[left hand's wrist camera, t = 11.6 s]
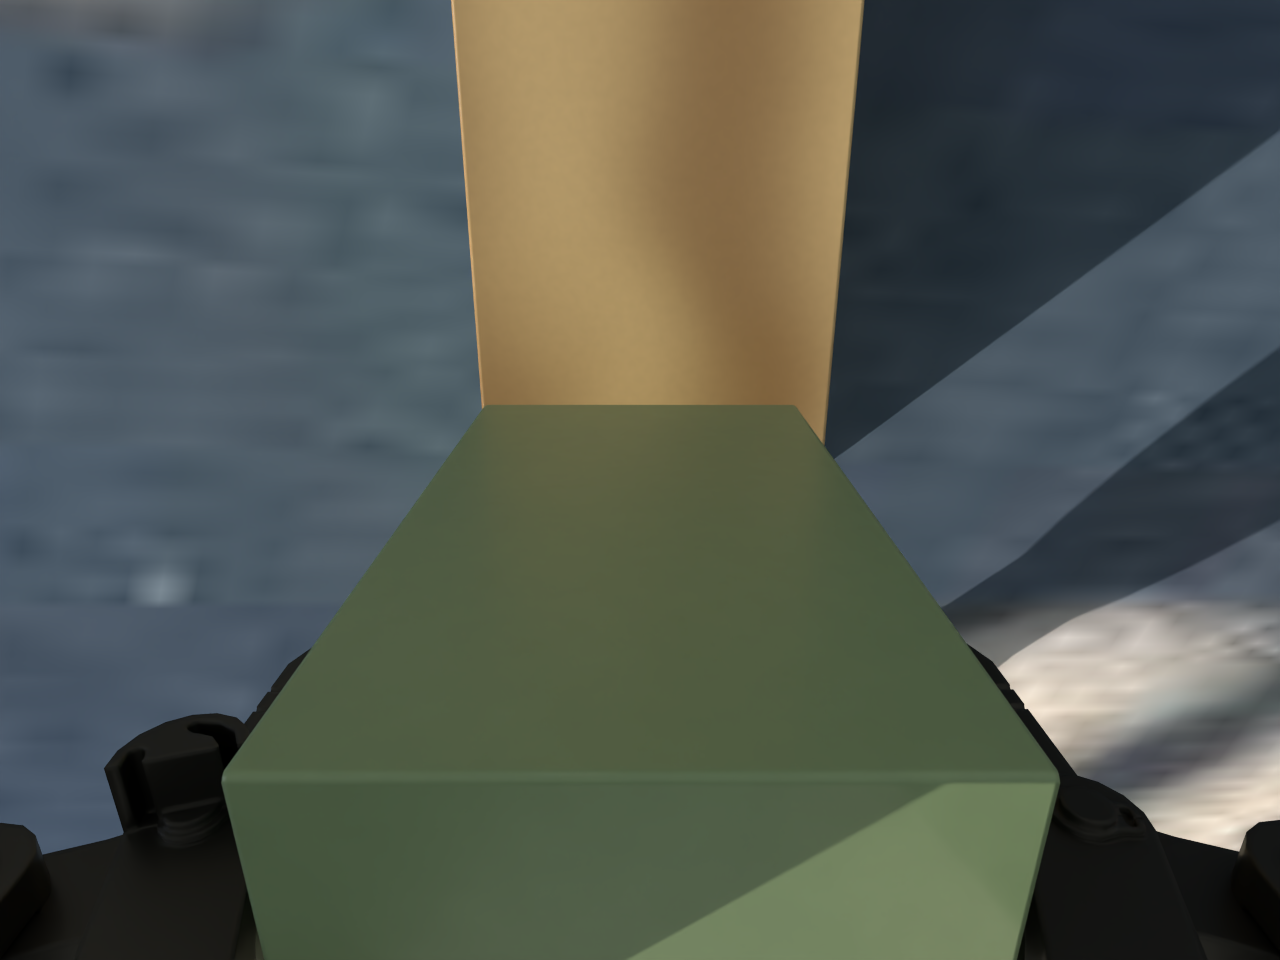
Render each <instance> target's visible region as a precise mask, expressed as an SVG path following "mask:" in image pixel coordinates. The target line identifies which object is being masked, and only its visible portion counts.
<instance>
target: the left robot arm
mask: <svg viewBox="0 0 1280 960" xmlns="http://www.w3.org/2000/svg"><path fill="white" fill-rule="evenodd" d="M967 645H968V644H967ZM968 647H969V648H970V649H971V651H972V652H973V654H974V655H975V656H976V658H977V659H978V661H979V662H980V663H981V665H982V666H983V668H984V669H985V670H986V672H987V673H988V675H989V676H990V677H991V679H992V680H993V681H994V683H995V684H996V686H997V687H998V688H999V690H1000V691H1001V693H1002V694H1003V695H1004V697H1005V698H1006V700H1007V701H1008V702H1009V704H1010V705H1011V707H1012V708H1013V709H1014V711H1015V712H1016V713H1017V715H1018V716H1019V718H1020V719H1021V720H1022V722H1023V723H1024V725H1025V726H1026V727H1027V729H1028V730H1029V732H1030V733H1031V734H1032V736H1033V737H1034V739H1035V740H1036V741H1037V743H1038V744H1039V746H1040V747H1041V748H1042V750H1043V751H1044V752H1045V754H1046V755H1047V757H1048V758H1049V759H1050V761H1051V762H1052V764H1053V765H1054V766H1055V768H1056V769H1057V771H1058V774H1059V778H1060V786H1059V790H1058V794H1057V798H1056V802H1055V806H1054V810H1053V814H1052V818H1051V823H1050V827H1049V831H1048V835H1047V839H1046V843H1045V847H1044V851H1043V855H1042V859H1041V863H1040V867H1039V871H1038V876H1037V880H1036V884H1035V888H1034V892H1033V896H1032V900H1031V904H1030V908H1029V912H1028V916H1027V920H1026V924H1025V929H1024V933H1023V937H1022V941H1021V945H1020V949H1019V953H1018V957H1017V960H1280V820H1275V821H1266V822H1259V823H1257V824H1256V825H1255V826H1254V827H1252V828H1251V829H1250V830H1248V831H1247V832H1246V835H1245V838H1244V841H1243V843H1242V846H1241V849H1240V851H1239V852H1238V851H1234V850H1229V849H1225V848H1221V847H1217V846H1212V845H1208V844H1204V843H1199V842H1195V841H1191V840H1186V839H1182V838H1178V837H1174V836H1171V835H1167V834H1164V833H1161V832H1157V831H1156V830H1155V829H1154V827H1153V826H1152V824H1151V822H1150V821H1149V819H1148V818H1147V816H1146V815H1145V813H1144V812H1143V811H1141V810H1140V809H1139V808H1138V807H1137V806H1135V805H1134V804H1133V803H1132V802H1131V801H1130V800H1128V799H1127V798H1126V797H1125V796H1124V795H1122V794H1120V793H1118V792H1116V791H1114V790H1112V789H1111V788H1109V787H1107V786H1105V785H1103V784H1101V783H1099V782H1096V781H1093V780H1090V779H1087V778H1083V777H1080V776H1077V774H1076V773H1075V772H1074V770H1073V769H1072V768H1071V766H1070V765H1069V764H1068V762H1067V761H1066V760H1065V758H1064V757H1063V756H1062V754H1061V753H1060V752H1059V750H1058V749H1057V748H1056V746H1055V745H1054V744H1053V742H1052V741H1051V740H1050V738H1049V737H1048V736H1047V734H1046V733H1045V731H1044V730H1043V729H1042V727H1041V726H1040V725H1039V723H1038V722H1037V721H1036V719H1035V718H1034V717H1033V715H1032V714H1031V713H1030V711H1029V710H1028V709H1025V708H1024V703H1023V702H1022V701H1021V699H1020V698H1019V697H1018V695H1017V694H1016V693H1015V691H1014V690H1010V684H1009V683H1008V682H1007V680H1006V679H1005V678H1004V676H1003V675H1002V674H1001V672H1000V671H999V670H998V668H997V667H996V666H995V664H994V663H993V662H992V661H991V660H989V659H988V658H987V657H985V656H984V655H982V654H981V653H979V652H978V651H977V650H975V649H974V648H972V647H971V646H969V645H968ZM310 650H311V649H309V650H308V651H306V652H305V653H304V654H302V655H301V656H299V657H298V658H296V659H295V660H294V661H292V662H291V663H289V664H288V665H287V667H286V668H285V669H284V671H283V672H282V673H281V675H280V676H279V678H278V679H277V680H276V682H275V683H274V684H273V686H272V687H271V692H267V694H266V695H265V696H264V698H263V699H262V701H261V702H260V703H259V705H258V706H257V711H256V712H253V713H252V714H251V715H250V717H249V718H248V719H247V721H246V722H245V724H244V723H242V722H241V721H240V720H239V719H238V718H236V717H232V716H227V715H223V714H218V713H214V714H199V715H191V716H187V717H183V718H180V719H176V720H172V721H168V722H165V723H163V724H161V725H159V726H157V727H154V728H152V729H150V730H148V731H146V732H144V733H142V734H140V735H138V736H137V737H135V738H134V739H133V740H131V741H130V742H129V743H127V744H126V745H125V746H123V747H122V748H121V749H119V750H118V751H117V752H116V753H115V755H114V756H113V757H112V759H111V760H110V761H109V762H108V764H107V765H106V766H105V768H104V770H105V773H106V776H107V780H108V783H109V786H110V789H111V792H112V796H113V799H114V802H115V805H116V809H117V812H118V815H119V818H120V821H121V825H122V828H123V831H124V833H123V835H121V836H117V837H114V838H111V839H107V840H103V841H99V842H95V843H91V844H86V845H82V846H78V847H73V848H69V849H65V850H61V851H56V852H52V853H48V854H44V855H42V852H41V850H40V847H39V844H38V841H37V839H36V836H35V835H34V834H33V833H32V832H31V831H29V830H28V829H27V828H26V827H24V826H23V825H15V824H6V823H0V960H264V956H263V952H262V948H261V944H260V939H259V935H258V931H257V927H256V923H255V919H254V915H253V911H252V907H251V902H250V898H249V894H248V890H247V886H246V882H245V878H244V874H243V870H242V866H241V861H240V857H239V853H238V849H237V845H236V841H235V837H234V833H233V829H232V825H231V820H230V816H229V812H228V808H227V804H226V800H225V796H224V792H223V788H222V783H221V782H222V776H223V772H224V770H225V769H226V767H227V766H228V764H229V763H230V762H231V760H232V759H233V757H234V756H235V755H236V753H237V752H238V750H239V749H240V748H241V746H242V745H243V743H244V742H245V741H246V739H247V738H248V736H249V735H250V734H251V732H252V731H253V729H254V728H255V727H256V725H257V724H258V722H259V721H260V720H261V718H262V717H263V715H264V714H265V713H266V711H267V710H268V708H269V707H270V706H271V704H272V703H273V701H274V700H275V699H276V697H277V696H278V694H279V693H280V692H281V690H282V689H283V687H284V686H285V685H286V683H287V682H288V680H289V679H290V678H291V676H292V675H293V673H294V672H295V671H296V669H297V668H298V666H299V665H300V664H301V662H302V661H303V659H304V658H305V657H306V655H307V654H308V652H309V651H310Z"/></svg>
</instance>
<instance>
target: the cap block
mask: <svg viewBox="0 0 1280 960" xmlns="http://www.w3.org/2000/svg"><path fill="white" fill-rule="evenodd" d="M221 783H222V788H223V792H224V796H225V800H226V804H227V808H228V812H229V816H230V820H231V825H232V829H233V833H234V837H235V841H236V845H237V849H238V853H239V857H240V861H241V866H242V870H243V874H244V878H245V882H246V886H247V890H248V894H249V898H250V902H251V907H252V911H253V915H254V919H255V923H256V927H257V931H258V935H259V939H260V944H261V948H262V952H263V956H264V960H1017V957H1018V953H1019V949H1020V945H1021V941H1022V937H1023V933H1024V929H1025V924H1026V920H1027V916H1028V912H1029V908H1030V904H1031V900H1032V896H1033V892H1034V888H1035V884H1036V880H1037V876H1038V871H1039V867H1040V863H1041V859H1042V855H1043V851H1044V847H1045V843H1046V839H1047V835H1048V831H1049V827H1050V823H1051V818H1052V814H1053V810H1054V806H1055V802H1056V798H1057V794H1058V790H1059V786H1060V778H1059V774H1058V771H1057V769H1056V768H1055V766H1054V765H1053V764H1052V762H1051V761H1050V759H1049V758H1048V757H1047V755H1046V754H1045V752H1044V751H1043V750H1042V748H1041V747H1040V746H1039V744H1038V743H1037V741H1036V740H1035V739H1034V737H1033V736H1032V734H1031V733H1030V732H1029V730H1028V729H1027V727H1026V726H1025V725H1024V723H1023V722H1022V720H1021V719H1020V718H1019V716H1018V715H1017V713H1016V712H1015V711H1014V709H1013V708H1012V707H1011V705H1010V704H1009V702H1008V701H1007V700H1006V698H1005V697H1004V695H1003V694H1002V693H1001V691H1000V690H999V688H998V687H997V686H996V684H995V683H994V681H993V680H992V679H991V677H990V676H989V675H988V673H987V672H986V670H985V669H984V668H983V666H982V665H981V663H980V662H979V661H978V659H977V658H976V656H975V655H974V654H973V652H972V651H971V649H970V648H969V647H968V645H967V644H966V642H965V641H964V640H963V638H962V637H961V636H960V634H959V633H958V631H957V630H956V629H955V627H954V626H953V624H952V623H951V622H950V620H949V619H948V617H947V616H946V615H945V613H944V612H943V610H942V609H941V608H940V606H939V605H938V604H937V602H936V601H935V599H934V598H933V597H932V595H931V594H930V592H929V591H928V590H927V588H926V587H925V585H924V584H923V583H922V581H921V580H920V578H919V577H918V576H917V574H916V573H915V571H914V570H913V569H912V567H911V566H910V565H909V563H908V562H907V560H906V559H905V558H904V556H903V555H902V553H901V552H900V551H899V549H898V548H897V546H896V545H895V544H894V542H893V541H892V539H891V538H890V537H889V535H888V534H887V532H886V531H885V530H884V528H883V527H882V526H881V524H880V523H879V521H878V520H877V519H876V517H875V516H874V514H873V513H872V512H871V510H870V509H869V507H868V506H867V505H866V503H865V502H864V500H863V499H862V498H861V496H860V495H859V494H858V492H857V491H856V489H855V488H854V487H853V485H852V484H851V482H850V481H849V480H848V478H847V477H846V475H845V474H844V473H843V471H842V470H841V468H840V467H839V466H838V464H837V463H836V461H835V460H834V459H833V457H832V456H831V455H830V453H829V452H828V450H827V449H826V448H825V446H824V445H823V443H822V442H821V441H820V439H819V438H818V436H817V435H816V434H815V432H814V431H813V429H812V428H811V427H810V425H809V424H808V423H807V421H806V420H805V418H804V417H803V416H802V414H801V413H800V411H799V410H798V409H797V407H796V406H794V405H486V406H484V408H483V409H482V410H481V412H480V413H479V415H478V416H477V417H476V419H475V420H474V422H473V423H472V424H471V426H470V427H469V429H468V430H467V431H466V433H465V434H464V436H463V437H462V438H461V440H460V441H459V443H458V444H457V445H456V447H455V448H454V450H453V451H452V452H451V454H450V455H449V457H448V458H447V459H446V461H445V462H444V464H443V465H442V466H441V468H440V469H439V471H438V472H437V473H436V475H435V476H434V478H433V479H432V480H431V482H430V483H429V485H428V486H427V487H426V489H425V490H424V492H423V493H422V494H421V496H420V497H419V499H418V500H417V501H416V503H415V504H414V506H413V507H412V508H411V510H410V511H409V513H408V514H407V515H406V517H405V518H404V520H403V521H402V522H401V524H400V525H399V527H398V528H397V529H396V531H395V532H394V534H393V535H392V536H391V538H390V539H389V541H388V542H387V543H386V545H385V546H384V548H383V549H382V550H381V552H380V553H379V555H378V556H377V557H376V559H375V560H374V562H373V563H372V564H371V566H370V567H369V569H368V570H367V571H366V573H365V574H364V576H363V577H362V578H361V580H360V581H359V582H358V584H357V585H356V587H355V588H354V589H353V591H352V592H351V594H350V595H349V596H348V598H347V599H346V601H345V602H344V603H343V605H342V606H341V608H340V609H339V610H338V612H337V613H336V615H335V616H334V617H333V619H332V620H331V622H330V623H329V624H328V626H327V627H326V629H325V630H324V631H323V633H322V634H321V636H320V637H319V638H318V640H317V641H316V643H315V644H314V645H313V647H312V648H311V650H310V651H309V652H308V654H307V655H306V657H305V658H304V659H303V661H302V662H301V664H300V665H299V666H298V668H297V669H296V671H295V672H294V673H293V675H292V676H291V678H290V679H289V680H288V682H287V683H286V685H285V686H284V687H283V689H282V690H281V692H280V693H279V694H278V696H277V697H276V699H275V700H274V701H273V703H272V704H271V706H270V707H269V708H268V710H267V711H266V713H265V714H264V715H263V717H262V718H261V720H260V721H259V722H258V724H257V725H256V727H255V728H254V729H253V731H252V732H251V734H250V735H249V736H248V738H247V739H246V741H245V742H244V743H243V745H242V746H241V748H240V749H239V750H238V752H237V753H236V755H235V756H234V757H233V759H232V760H231V762H230V763H229V764H228V766H227V767H226V769H225V770H224V772H223V776H222V782H221Z"/></svg>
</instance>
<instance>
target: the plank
mask: <svg viewBox="0 0 1280 960" xmlns="http://www.w3.org/2000/svg"><path fill="white" fill-rule="evenodd" d="M864 1H865V0H451V4H452V17H453V30H454V44H455V57H456V70H457V83H458V97H459V110H460V123H461V136H462V149H463V163H464V176H465V189H466V202H467V216H468V229H469V242H470V255H471V268H472V282H473V295H474V308H475V321H476V335H477V348H478V361H479V374H480V387H481V401H482V409H483V408H484V406H486V405H794V406H796V407H797V409H798V410H799V411H800V413H801V414H802V416H803V417H804V418H805V420H806V421H807V423H808V424H809V425H810V427H811V428H812V429H813V431H814V432H815V434H816V435H817V436H818V438H819V439H820V441H821V442H822V443H823V445H824V444H825V433H826V422H827V411H828V400H829V389H830V378H831V367H832V356H833V344H834V333H835V322H836V311H837V300H838V289H839V278H840V267H841V256H842V245H843V234H844V223H845V212H846V200H847V189H848V178H849V167H850V156H851V145H852V134H853V123H854V112H855V101H856V90H857V79H858V67H859V56H860V45H861V34H862V23H863V12H864Z"/></svg>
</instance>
